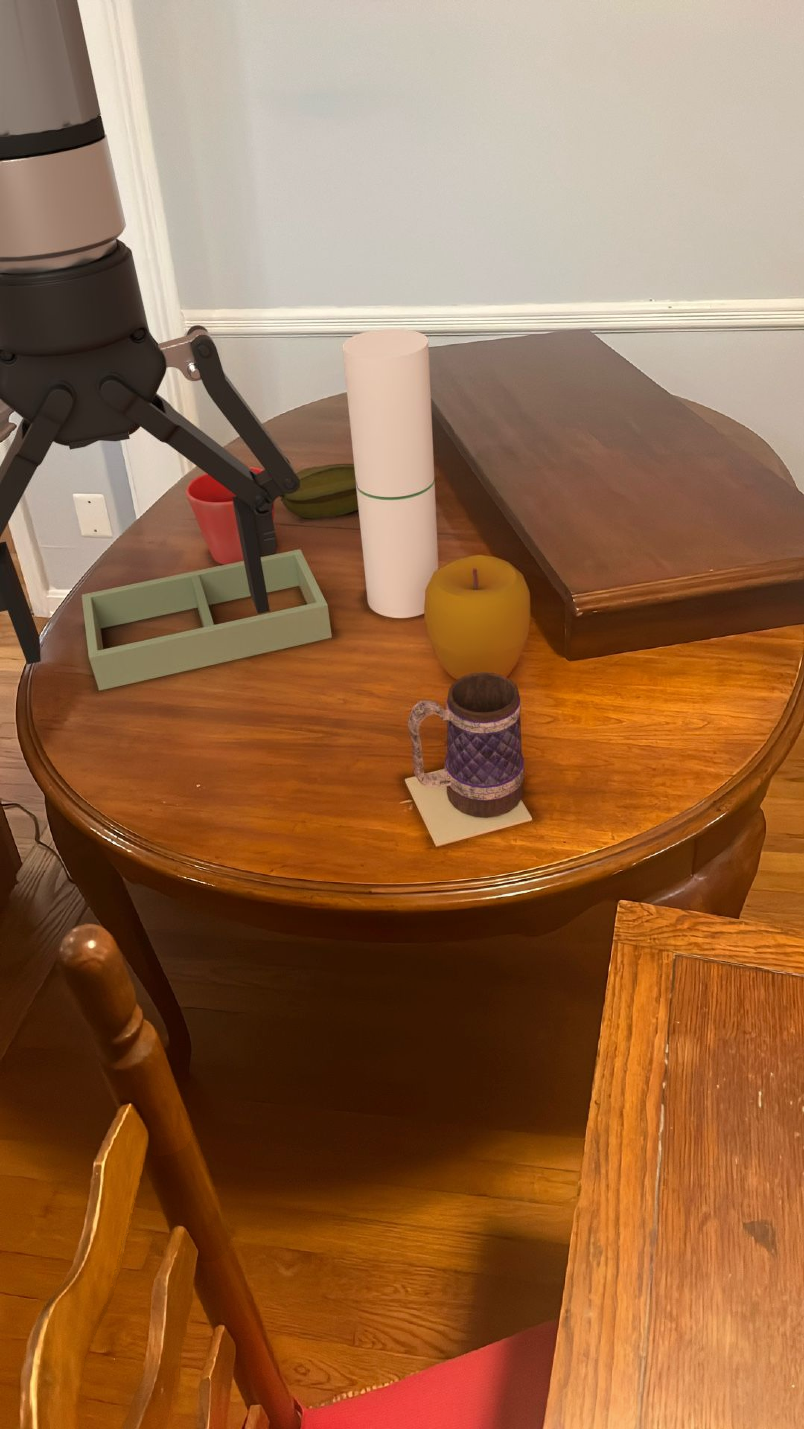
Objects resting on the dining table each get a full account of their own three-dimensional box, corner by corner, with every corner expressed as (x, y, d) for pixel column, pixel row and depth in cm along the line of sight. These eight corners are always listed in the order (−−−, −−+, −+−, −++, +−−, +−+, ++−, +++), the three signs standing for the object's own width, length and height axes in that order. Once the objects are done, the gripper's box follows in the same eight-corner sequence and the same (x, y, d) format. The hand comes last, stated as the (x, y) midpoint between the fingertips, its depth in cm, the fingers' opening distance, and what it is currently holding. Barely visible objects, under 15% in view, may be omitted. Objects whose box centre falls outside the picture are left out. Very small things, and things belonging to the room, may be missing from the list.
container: (352, 603, 118) (324, 348, 99) (399, 572, 123) (381, 324, 104) (408, 627, 113) (389, 364, 94) (454, 593, 118) (445, 337, 99)
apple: (438, 639, 111) (433, 536, 103) (535, 646, 109) (538, 542, 101) (417, 699, 103) (410, 593, 95) (522, 708, 100) (524, 600, 92)
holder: (99, 691, 107) (88, 657, 104) (91, 626, 117) (81, 594, 115) (332, 638, 112) (327, 604, 110) (305, 580, 123) (300, 548, 120)
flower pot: (223, 529, 135) (210, 461, 128) (297, 537, 131) (287, 468, 125) (185, 568, 127) (169, 498, 121) (263, 578, 124) (250, 507, 118)
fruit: (328, 485, 143) (323, 441, 139) (394, 505, 137) (391, 460, 133) (274, 518, 136) (267, 473, 132) (342, 540, 130) (336, 494, 126)
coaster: (436, 847, 86) (435, 844, 86) (404, 781, 93) (404, 778, 93) (532, 821, 88) (532, 818, 88) (494, 758, 95) (494, 755, 94)
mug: (508, 760, 94) (509, 657, 86) (535, 811, 88) (538, 705, 81) (404, 784, 92) (395, 681, 85) (424, 837, 87) (417, 731, 79)
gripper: (290, 198, 52) (333, 554, 65) (-223, 268, 47) (-64, 638, 60) (324, 229, 46) (364, 612, 60) (-255, 312, 41) (-71, 710, 55)
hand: (149, 626), depth 60 cm, fingers open, 13 cm apart
